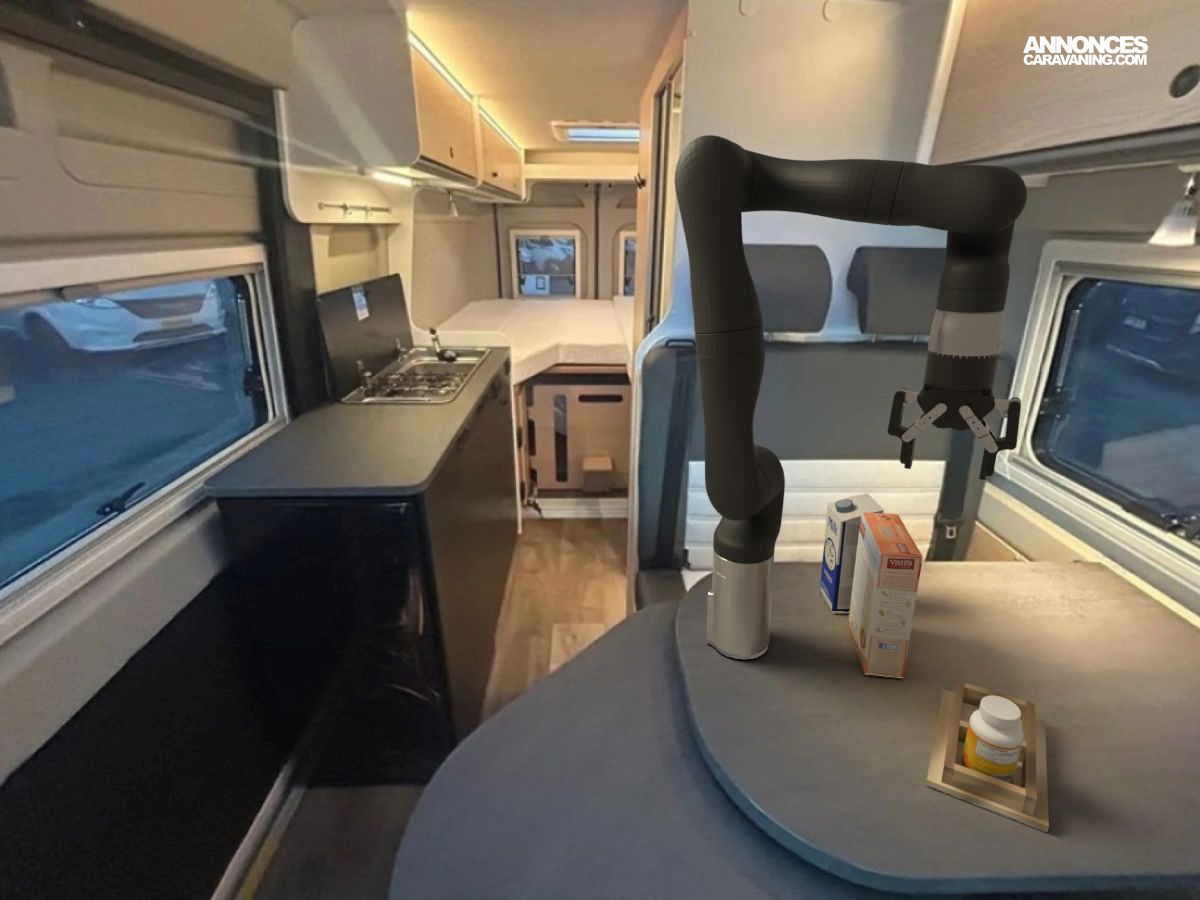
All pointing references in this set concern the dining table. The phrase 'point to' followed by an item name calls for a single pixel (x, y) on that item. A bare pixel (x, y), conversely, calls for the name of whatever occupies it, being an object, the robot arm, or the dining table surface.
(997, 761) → the supplement bottle
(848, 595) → the milk carton
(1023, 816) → the tray
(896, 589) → the cracker box
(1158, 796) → the dining table surface
